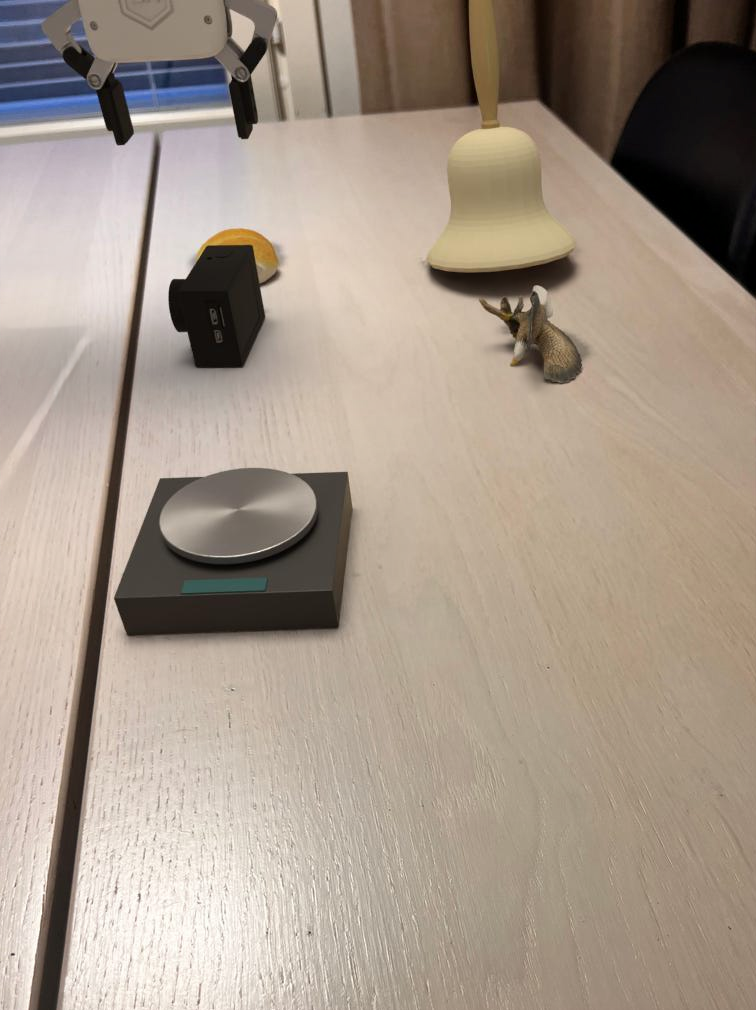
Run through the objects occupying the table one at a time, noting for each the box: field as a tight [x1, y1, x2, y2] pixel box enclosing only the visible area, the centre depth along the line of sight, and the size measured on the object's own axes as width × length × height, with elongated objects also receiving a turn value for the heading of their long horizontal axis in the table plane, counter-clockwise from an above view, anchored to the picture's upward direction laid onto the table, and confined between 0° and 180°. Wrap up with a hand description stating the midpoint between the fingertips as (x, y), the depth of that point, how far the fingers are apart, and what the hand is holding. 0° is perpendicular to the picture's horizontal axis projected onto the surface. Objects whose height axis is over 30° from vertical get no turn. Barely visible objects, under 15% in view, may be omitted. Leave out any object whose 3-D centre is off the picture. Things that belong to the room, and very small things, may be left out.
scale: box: [113, 471, 353, 636], centre depth 64 cm, size 13×13×3 cm
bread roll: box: [195, 227, 280, 285], centre depth 101 cm, size 8×9×4 cm
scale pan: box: [159, 467, 318, 564], centre depth 63 cm, size 10×10×1 cm
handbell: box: [425, 0, 577, 273], centre depth 95 cm, size 15×15×25 cm
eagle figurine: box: [478, 285, 583, 384], centre depth 84 cm, size 8×7×9 cm
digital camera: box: [167, 245, 266, 368], centre depth 88 cm, size 10×5×7 cm, turn 178°
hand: (186, 137), depth 78 cm, fingers open, 9 cm apart
